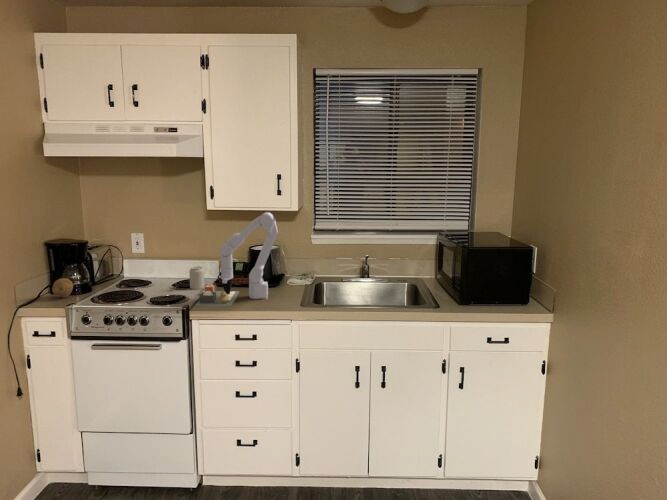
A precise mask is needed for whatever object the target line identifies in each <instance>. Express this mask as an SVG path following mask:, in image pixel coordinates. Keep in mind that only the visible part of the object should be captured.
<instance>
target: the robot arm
mask: <svg viewBox="0 0 667 500" xmlns="http://www.w3.org/2000/svg"><path fill="white" fill-rule="evenodd" d="M261 227H263V228H264V229H265V232H266V233H267V235H266V237H265V240H264V242H263V244H262V247H261V250H260V252H259V255H258V258H257V260H256V262H255V265H254V267H252V268H251V270H250V272H249V274H248V279H249V280H248V298H249V299H252V300H253V299H254V300H259V299H266V301H267V300H268V298H269V284H268V283H269V282H268V281H264V278H263V275H264V268H265V265H266V264H267V260H268V258H269V256H270V253H271V251H272V248H273V246H274V244H275V241H276V239H277V236H278V233H279V230H278V226H277V221H276V218H275V217H274V214H273V213H271V212H269V211H266V212H263V213H262V214H261V215H260V216H258V217H256V218H254V219H253V220H252V221H250V223H249V224H248V225H247V226H246V227H245V228H244V229H243V230H242V231H240V232H236V233H233V234H232V235H231V237H230V238H229V239H228V240H225V241H224V244H222V245H221V246H220V248H219V253H220V274H221V275H218V278H219V279H221V280H220V283H221V285H222V287H223V291H224V292H226V294H230V291H231V289H232V285H233V283H234V279H233V278H234V269H233V268H234V267H233V265H234V263H233V262H234V261H233V259H234V258H233V253H234V251H235V250H237V249H238V248H239V247H240V246H241V245H242V244H243V243H245V238H246V237H247V236H249V234H250V233H252V232H253V231H254V230H255V229H258V228H261Z"/></svg>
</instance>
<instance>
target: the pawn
mask: <svg viewBox="0 0 667 500" xmlns="http://www.w3.org/2000/svg"><path fill="white" fill-rule="evenodd" d="M222 291H223V292H221V294H220V295H219V296H218V303H221V304H225V303H228V302H229V296H228V295H226V292H224V290H222Z"/></svg>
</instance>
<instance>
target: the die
mask: <svg viewBox="0 0 667 500" xmlns="http://www.w3.org/2000/svg"><path fill="white" fill-rule="evenodd" d="M205 291H211V292H214V291H215V285H214V284H209V285H208V284H206V285H204V292H205Z"/></svg>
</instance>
